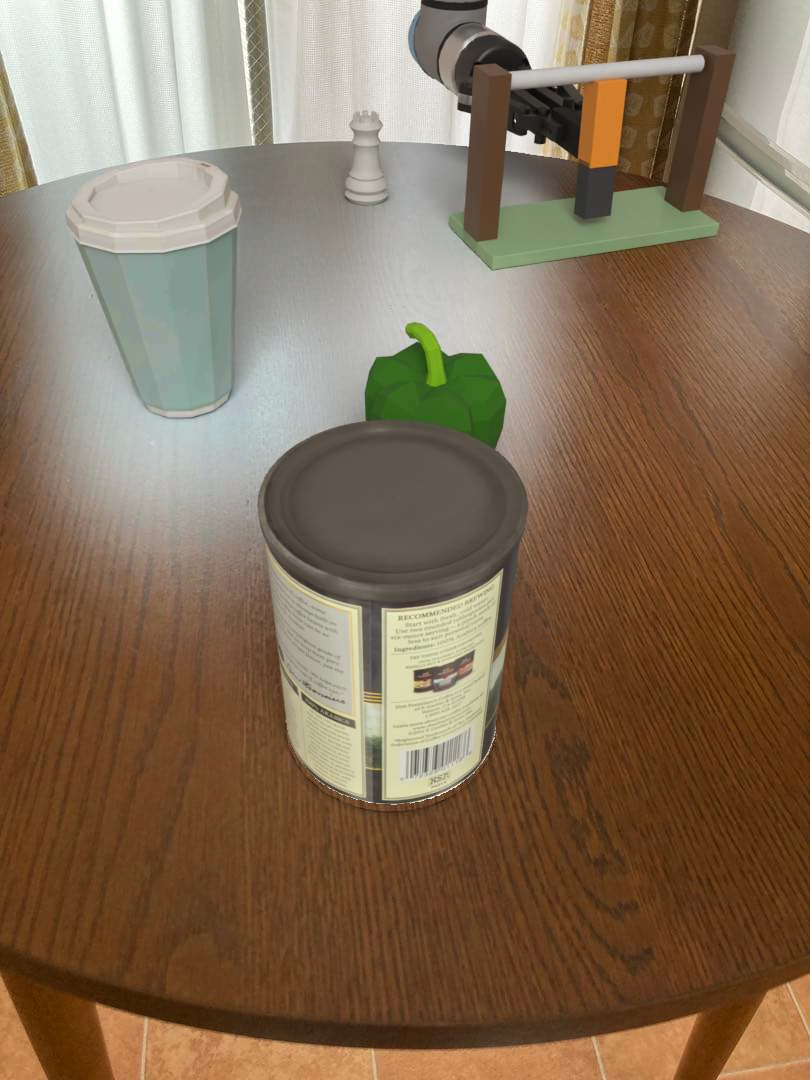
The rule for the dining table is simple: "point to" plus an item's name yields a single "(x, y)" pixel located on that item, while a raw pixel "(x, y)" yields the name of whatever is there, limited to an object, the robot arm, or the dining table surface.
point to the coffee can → (392, 602)
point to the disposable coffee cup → (165, 276)
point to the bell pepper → (436, 388)
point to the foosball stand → (553, 223)
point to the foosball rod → (602, 117)
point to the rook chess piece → (366, 162)
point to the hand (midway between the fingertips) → (589, 145)
